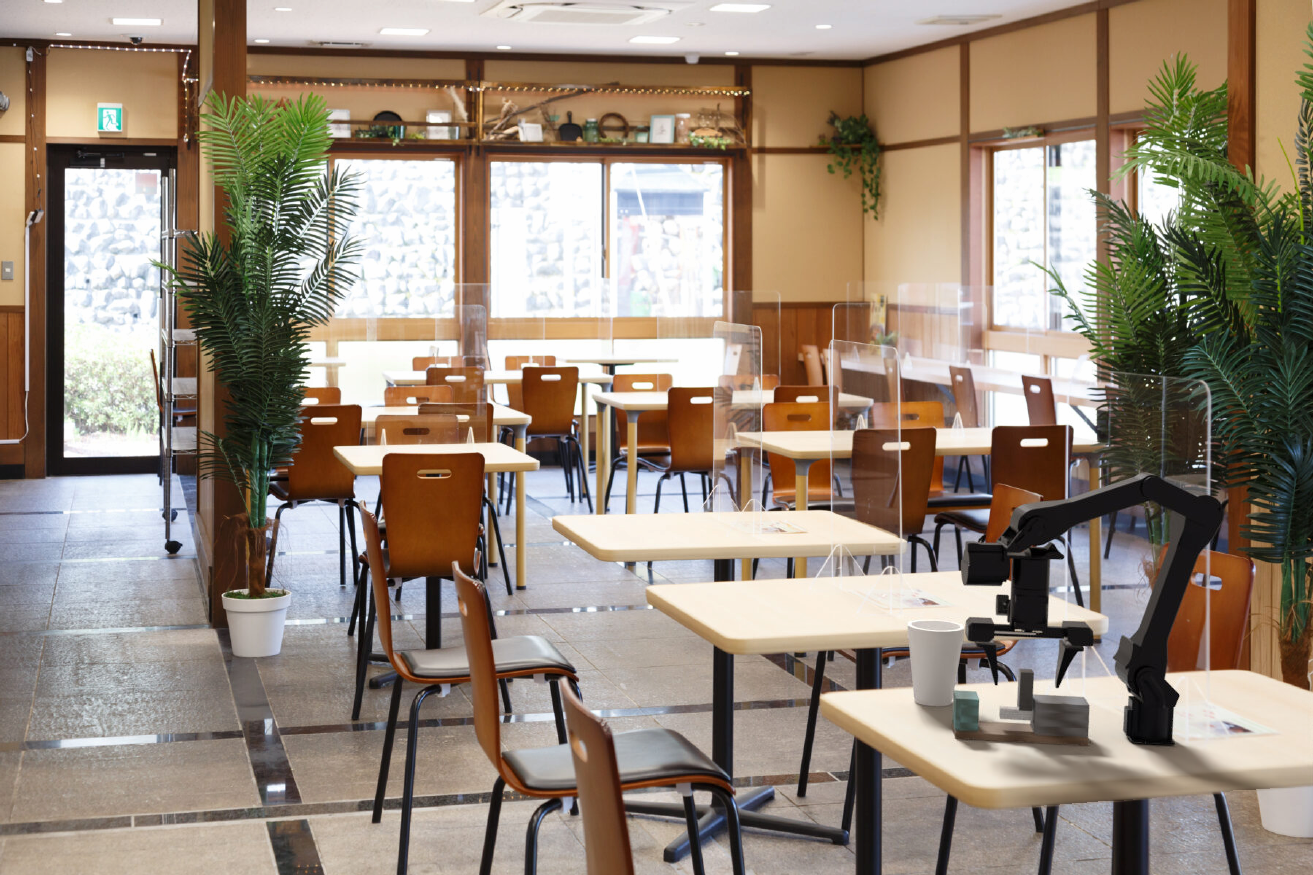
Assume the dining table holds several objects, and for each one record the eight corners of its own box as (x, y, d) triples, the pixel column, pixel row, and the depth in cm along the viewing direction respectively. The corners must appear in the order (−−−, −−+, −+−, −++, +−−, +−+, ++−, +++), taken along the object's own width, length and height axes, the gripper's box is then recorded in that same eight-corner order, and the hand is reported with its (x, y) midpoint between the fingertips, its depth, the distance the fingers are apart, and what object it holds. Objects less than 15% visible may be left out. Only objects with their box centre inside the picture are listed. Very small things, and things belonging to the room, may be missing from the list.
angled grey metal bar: (1083, 719, 222) (1085, 671, 222) (1085, 724, 220) (1088, 675, 219) (999, 715, 224) (1000, 667, 223) (1000, 719, 221) (1002, 671, 221)
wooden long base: (1081, 732, 225) (1082, 695, 224) (1088, 745, 218) (1090, 707, 217) (951, 725, 227) (953, 688, 227) (955, 738, 220) (956, 700, 220)
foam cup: (971, 706, 239) (974, 630, 237) (921, 710, 236) (923, 632, 235) (944, 692, 248) (947, 618, 247) (895, 695, 245) (898, 620, 244)
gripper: (1083, 579, 227) (1079, 676, 229) (963, 575, 230) (960, 670, 231) (1096, 592, 216) (1091, 694, 218) (970, 588, 219) (966, 688, 220)
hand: (1026, 686), depth 222 cm, fingers open, 9 cm apart
